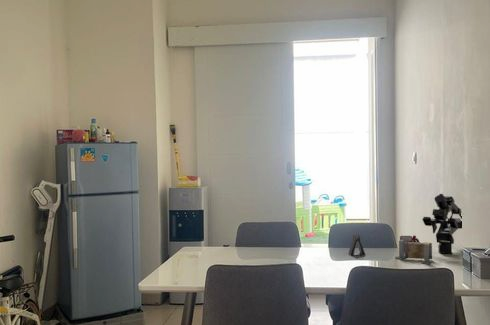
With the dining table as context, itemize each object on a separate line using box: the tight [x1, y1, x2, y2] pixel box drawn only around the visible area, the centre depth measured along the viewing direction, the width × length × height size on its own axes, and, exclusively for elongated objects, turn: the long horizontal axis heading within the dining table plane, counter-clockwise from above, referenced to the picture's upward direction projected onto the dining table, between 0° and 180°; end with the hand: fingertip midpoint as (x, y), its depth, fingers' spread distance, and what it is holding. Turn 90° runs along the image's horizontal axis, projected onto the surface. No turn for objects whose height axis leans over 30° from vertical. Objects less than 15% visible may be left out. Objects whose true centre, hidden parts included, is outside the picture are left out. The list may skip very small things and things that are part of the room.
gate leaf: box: [405, 242, 433, 260], centre depth 249 cm, size 14×2×9 cm, turn 75°
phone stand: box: [347, 233, 366, 257], centre depth 267 cm, size 9×6×12 cm, turn 89°
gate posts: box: [394, 239, 432, 265], centre depth 247 cm, size 20×7×11 cm, turn 45°
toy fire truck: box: [399, 235, 421, 247], centre depth 271 cm, size 7×12×10 cm, turn 84°
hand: (435, 233), depth 258 cm, fingers open, 2 cm apart
